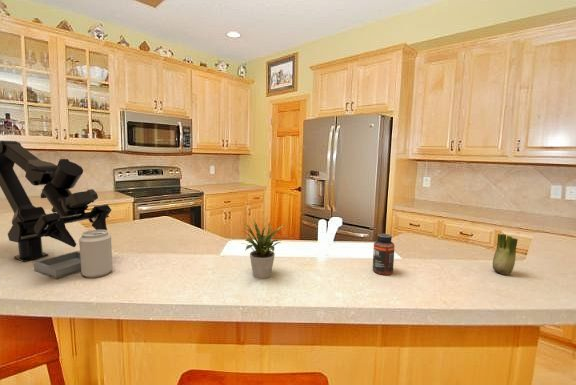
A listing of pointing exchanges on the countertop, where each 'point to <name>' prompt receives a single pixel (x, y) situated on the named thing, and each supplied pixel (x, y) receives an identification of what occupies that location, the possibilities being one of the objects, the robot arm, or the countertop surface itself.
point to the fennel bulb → (505, 254)
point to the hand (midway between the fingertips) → (91, 241)
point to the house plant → (262, 251)
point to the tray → (59, 265)
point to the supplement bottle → (383, 255)
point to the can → (95, 253)
